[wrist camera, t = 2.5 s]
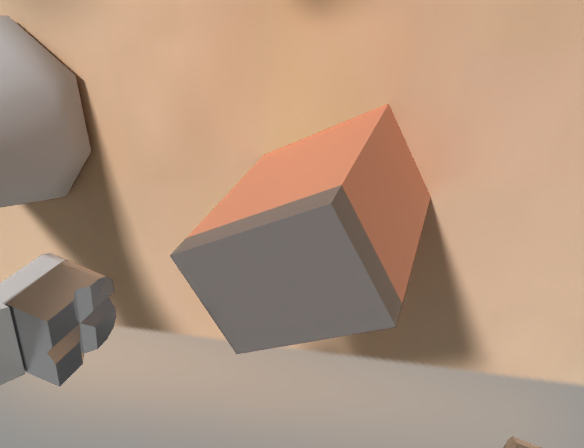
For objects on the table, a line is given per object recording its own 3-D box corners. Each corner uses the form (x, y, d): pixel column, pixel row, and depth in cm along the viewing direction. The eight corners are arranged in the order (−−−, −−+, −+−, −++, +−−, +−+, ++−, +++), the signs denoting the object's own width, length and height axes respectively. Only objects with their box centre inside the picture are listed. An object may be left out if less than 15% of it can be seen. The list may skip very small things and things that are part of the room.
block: (308, 233, 18) (236, 354, 14) (264, 154, 17) (170, 255, 13) (430, 196, 16) (395, 327, 11) (388, 103, 15) (330, 203, 10)
